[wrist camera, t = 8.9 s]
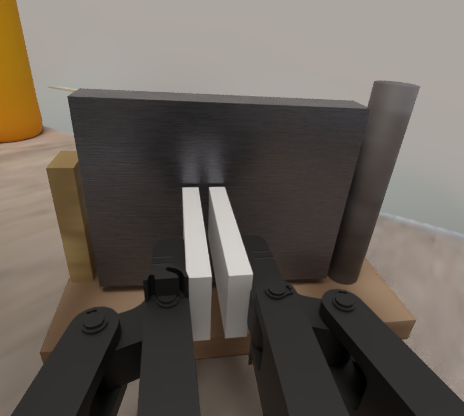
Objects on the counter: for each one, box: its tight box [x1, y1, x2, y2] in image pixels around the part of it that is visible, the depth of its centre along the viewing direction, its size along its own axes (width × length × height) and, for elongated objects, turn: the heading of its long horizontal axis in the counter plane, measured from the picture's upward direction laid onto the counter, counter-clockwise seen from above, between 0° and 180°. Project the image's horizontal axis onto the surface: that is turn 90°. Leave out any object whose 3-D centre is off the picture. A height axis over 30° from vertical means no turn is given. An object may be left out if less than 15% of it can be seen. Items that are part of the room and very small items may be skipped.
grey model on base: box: [40, 81, 420, 364], centre depth 18 cm, size 19×10×13 cm, turn 99°
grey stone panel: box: [68, 89, 371, 287], centre depth 17 cm, size 13×2×10 cm, turn 97°
